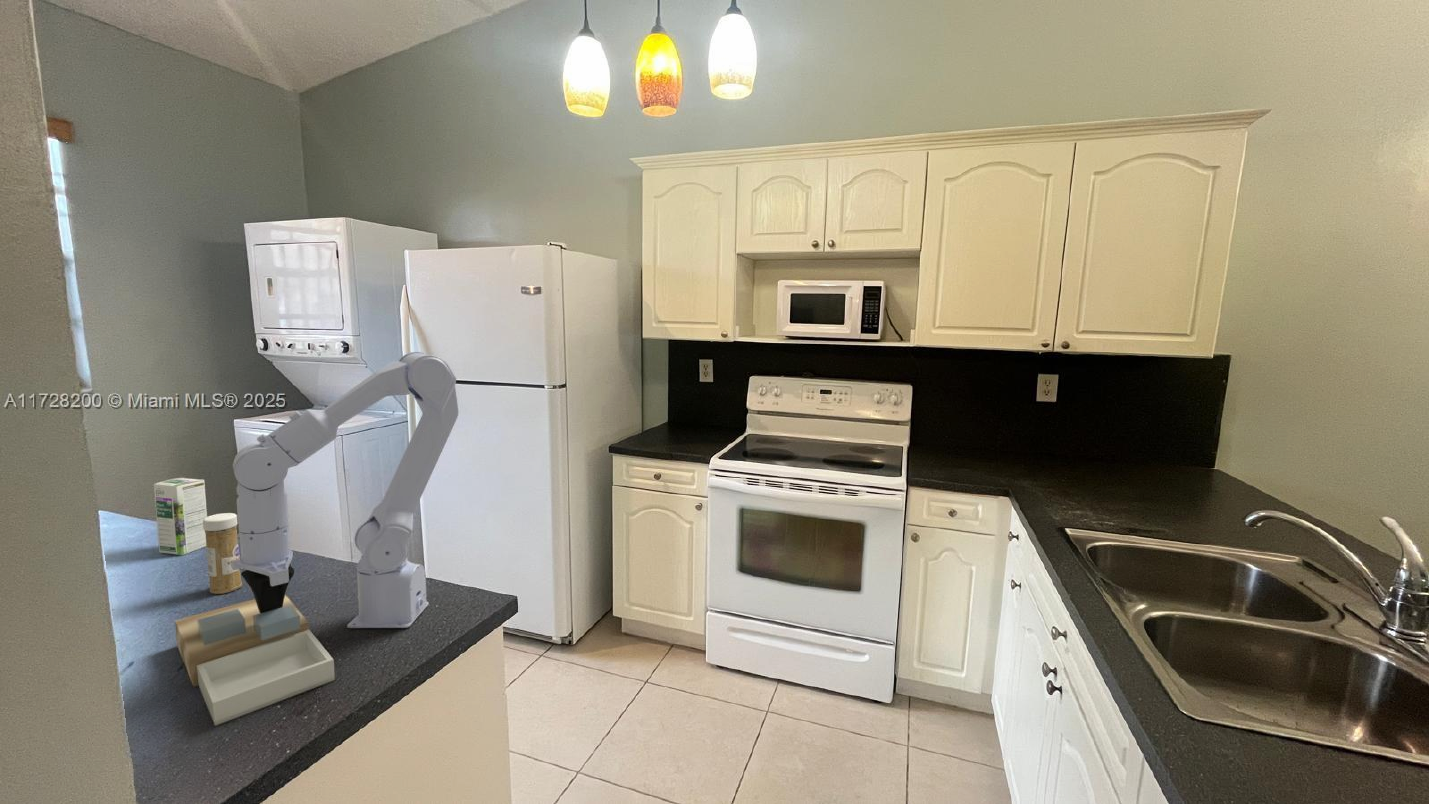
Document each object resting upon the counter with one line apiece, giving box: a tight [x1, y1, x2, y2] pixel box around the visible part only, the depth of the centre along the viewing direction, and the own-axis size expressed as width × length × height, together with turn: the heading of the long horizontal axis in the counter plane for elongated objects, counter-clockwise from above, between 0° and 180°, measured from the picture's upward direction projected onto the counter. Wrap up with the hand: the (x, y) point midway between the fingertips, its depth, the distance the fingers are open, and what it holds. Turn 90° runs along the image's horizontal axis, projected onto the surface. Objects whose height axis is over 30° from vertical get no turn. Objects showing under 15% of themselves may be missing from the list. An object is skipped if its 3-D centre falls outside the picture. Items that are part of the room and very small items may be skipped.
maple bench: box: [174, 594, 310, 688], centre depth 85 cm, size 14×13×4 cm
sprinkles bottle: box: [203, 512, 243, 595], centre depth 102 cm, size 5×5×13 cm
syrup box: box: [153, 477, 208, 556], centre depth 118 cm, size 6×6×14 cm
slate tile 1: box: [197, 609, 246, 645], centre depth 82 cm, size 4×4×2 cm
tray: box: [197, 629, 336, 727], centre depth 77 cm, size 11×12×3 cm
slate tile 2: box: [253, 605, 300, 640], centre depth 83 cm, size 4×4×2 cm
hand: (271, 615), depth 86 cm, fingers closed
